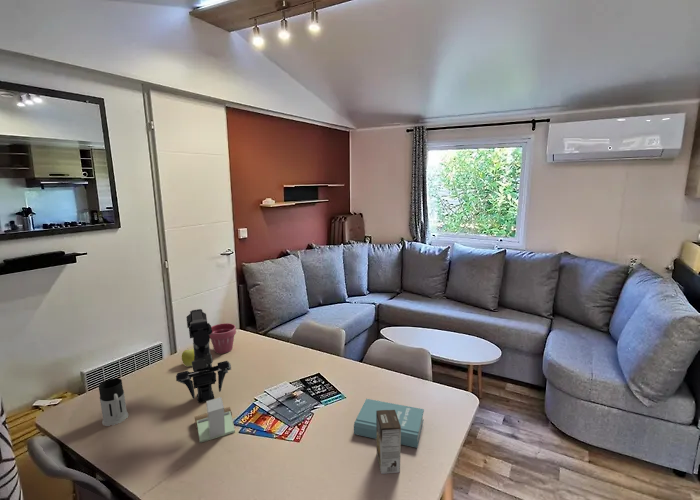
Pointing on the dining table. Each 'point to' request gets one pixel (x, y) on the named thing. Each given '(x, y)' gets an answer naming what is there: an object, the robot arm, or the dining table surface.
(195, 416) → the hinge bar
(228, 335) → the plant pot
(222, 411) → the block
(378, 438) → the coffee box
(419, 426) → the book
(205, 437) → the trapdoor
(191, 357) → the apple
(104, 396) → the glass holder
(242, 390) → the dining table surface
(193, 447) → the dining table surface
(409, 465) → the dining table surface
